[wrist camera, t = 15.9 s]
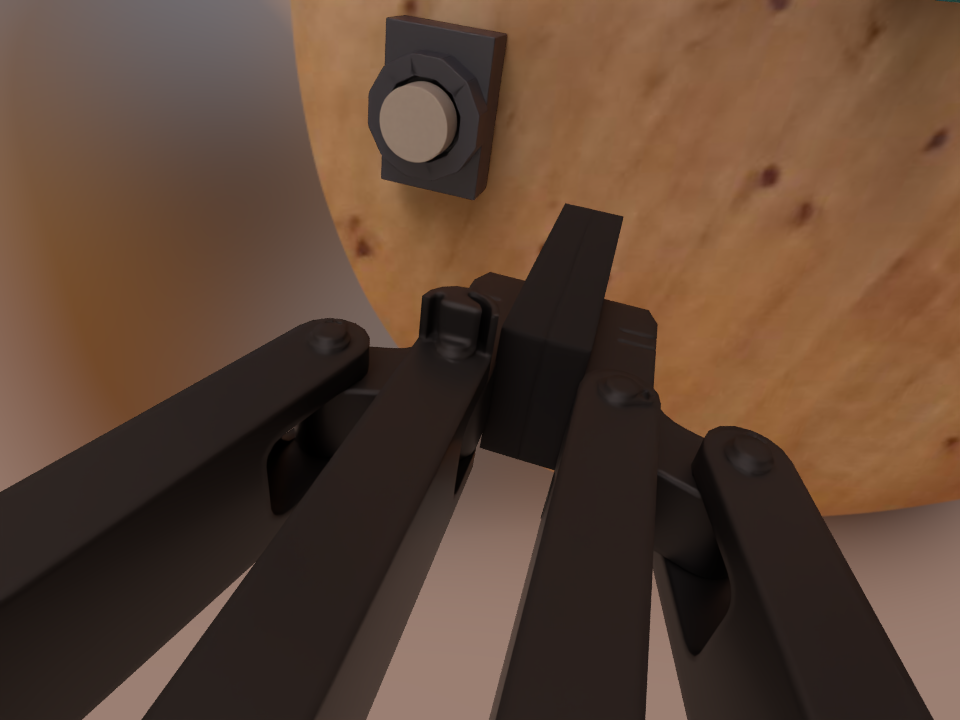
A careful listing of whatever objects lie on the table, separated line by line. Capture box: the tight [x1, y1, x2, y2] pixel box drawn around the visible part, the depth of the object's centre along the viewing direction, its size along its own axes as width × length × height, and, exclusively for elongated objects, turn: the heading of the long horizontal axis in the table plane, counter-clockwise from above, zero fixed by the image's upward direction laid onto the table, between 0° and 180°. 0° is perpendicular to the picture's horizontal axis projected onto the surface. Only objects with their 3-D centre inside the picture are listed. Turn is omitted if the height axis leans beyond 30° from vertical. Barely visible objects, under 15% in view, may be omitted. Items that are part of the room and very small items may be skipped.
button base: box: [368, 15, 507, 200], centre depth 38 cm, size 10×7×5 cm
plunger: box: [380, 81, 457, 163], centre depth 36 cm, size 4×4×2 cm
